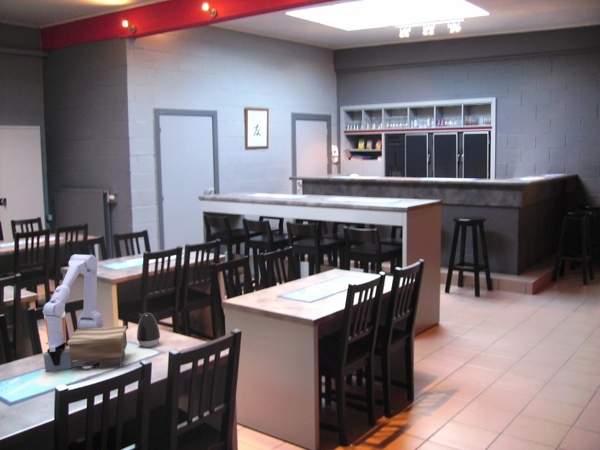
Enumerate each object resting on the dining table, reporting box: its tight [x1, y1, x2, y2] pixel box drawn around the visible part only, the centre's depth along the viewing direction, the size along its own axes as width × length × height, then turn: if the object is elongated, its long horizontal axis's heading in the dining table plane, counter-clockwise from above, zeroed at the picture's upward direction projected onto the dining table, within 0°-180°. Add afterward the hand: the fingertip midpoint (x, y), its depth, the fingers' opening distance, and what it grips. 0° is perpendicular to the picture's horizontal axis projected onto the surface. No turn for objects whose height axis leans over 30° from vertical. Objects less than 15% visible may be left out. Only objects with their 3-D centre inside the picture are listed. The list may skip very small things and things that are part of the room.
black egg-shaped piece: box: [136, 312, 161, 348], centre depth 281 cm, size 10×10×15 cm
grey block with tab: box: [43, 348, 100, 373], centre depth 257 cm, size 4×21×7 cm, turn 105°
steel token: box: [81, 362, 95, 371], centre depth 256 cm, size 5×5×2 cm
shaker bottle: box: [43, 310, 67, 350], centre depth 278 cm, size 9×9×20 cm
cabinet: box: [66, 325, 128, 369], centre depth 260 cm, size 17×21×13 cm
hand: (58, 363), depth 255 cm, fingers closed on grey block with tab, 4 cm apart
